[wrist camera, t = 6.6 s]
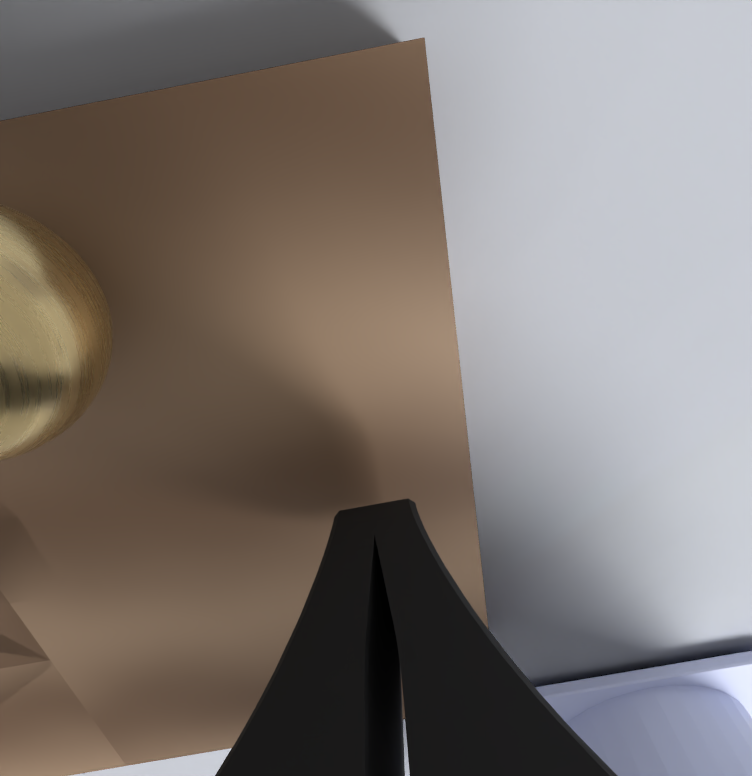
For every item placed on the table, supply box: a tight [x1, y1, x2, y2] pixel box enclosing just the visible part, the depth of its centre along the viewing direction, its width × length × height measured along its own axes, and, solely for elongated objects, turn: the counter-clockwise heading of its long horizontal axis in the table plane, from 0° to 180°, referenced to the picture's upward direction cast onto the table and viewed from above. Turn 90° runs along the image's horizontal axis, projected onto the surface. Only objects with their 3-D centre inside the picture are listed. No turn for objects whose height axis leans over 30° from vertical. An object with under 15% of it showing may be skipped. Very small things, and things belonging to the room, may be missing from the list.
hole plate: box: [0, 38, 488, 776], centre depth 12 cm, size 15×18×2 cm
